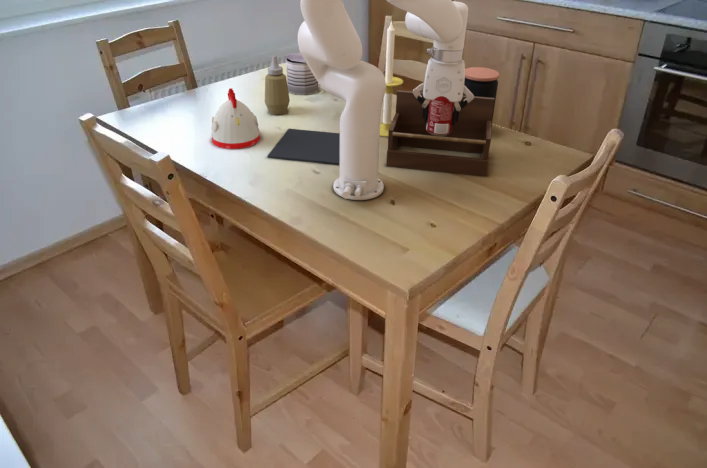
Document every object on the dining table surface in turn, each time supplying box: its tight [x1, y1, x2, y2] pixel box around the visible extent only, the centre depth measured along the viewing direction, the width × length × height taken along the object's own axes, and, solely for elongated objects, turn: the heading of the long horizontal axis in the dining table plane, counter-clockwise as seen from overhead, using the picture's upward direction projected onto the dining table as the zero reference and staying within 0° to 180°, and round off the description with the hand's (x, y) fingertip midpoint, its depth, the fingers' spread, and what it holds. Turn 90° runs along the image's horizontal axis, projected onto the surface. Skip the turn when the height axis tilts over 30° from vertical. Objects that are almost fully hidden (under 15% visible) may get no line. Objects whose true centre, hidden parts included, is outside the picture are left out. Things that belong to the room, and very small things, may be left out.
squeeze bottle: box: [264, 55, 291, 115], centre depth 186 cm, size 8×8×18 cm
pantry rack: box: [385, 89, 494, 177], centre depth 158 cm, size 15×26×16 cm, turn 78°
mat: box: [267, 128, 340, 166], centre depth 167 cm, size 20×24×1 cm
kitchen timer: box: [210, 87, 261, 150], centre depth 168 cm, size 14×14×15 cm
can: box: [284, 52, 320, 96], centre depth 206 cm, size 11×11×12 cm
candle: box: [379, 19, 404, 138], centre depth 170 cm, size 10×10×32 cm
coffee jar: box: [463, 66, 500, 128], centre depth 175 cm, size 11×11×18 cm
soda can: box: [426, 93, 455, 136], centre depth 154 cm, size 7×7×12 cm
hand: (439, 121), depth 156 cm, fingers closed on soda can, 6 cm apart
